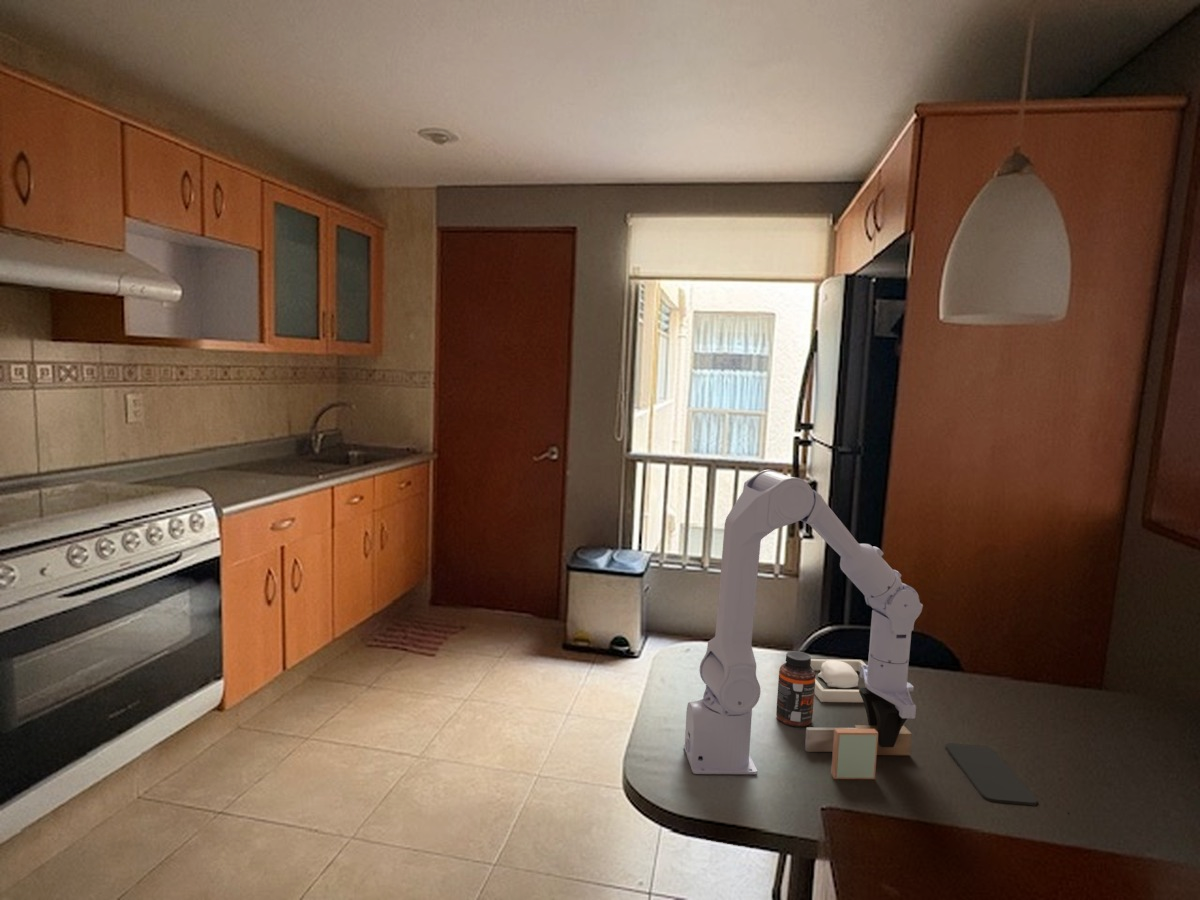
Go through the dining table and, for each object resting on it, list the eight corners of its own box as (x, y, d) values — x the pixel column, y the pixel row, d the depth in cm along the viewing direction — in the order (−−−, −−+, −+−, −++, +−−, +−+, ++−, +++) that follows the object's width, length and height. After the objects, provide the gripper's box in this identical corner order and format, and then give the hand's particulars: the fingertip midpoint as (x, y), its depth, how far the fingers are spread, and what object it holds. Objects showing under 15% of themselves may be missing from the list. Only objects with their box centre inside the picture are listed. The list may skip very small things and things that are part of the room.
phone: (985, 798, 96) (942, 742, 111) (984, 804, 96) (942, 747, 111) (1041, 803, 95) (991, 746, 110) (1040, 809, 95) (990, 751, 110)
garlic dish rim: (821, 701, 125) (821, 691, 125) (794, 668, 139) (794, 658, 139) (894, 702, 126) (895, 692, 125) (860, 669, 140) (861, 659, 140)
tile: (834, 779, 100) (837, 733, 99) (831, 774, 101) (834, 728, 101) (875, 779, 100) (878, 733, 100) (871, 774, 102) (874, 728, 101)
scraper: (808, 754, 106) (809, 732, 106) (802, 745, 109) (804, 724, 109) (909, 755, 107) (911, 733, 107) (902, 746, 110) (903, 725, 110)
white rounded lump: (812, 673, 138) (814, 654, 138) (845, 673, 138) (847, 655, 138) (828, 691, 130) (830, 671, 130) (863, 691, 130) (865, 671, 130)
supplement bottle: (804, 732, 114) (809, 665, 112) (770, 720, 117) (774, 655, 116) (817, 718, 118) (821, 654, 117) (784, 708, 122) (788, 645, 121)
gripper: (939, 676, 100) (931, 766, 101) (891, 639, 114) (885, 718, 116) (891, 676, 100) (884, 766, 101) (849, 638, 114) (844, 718, 115)
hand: (881, 740), depth 108 cm, fingers closed on scraper, 2 cm apart
